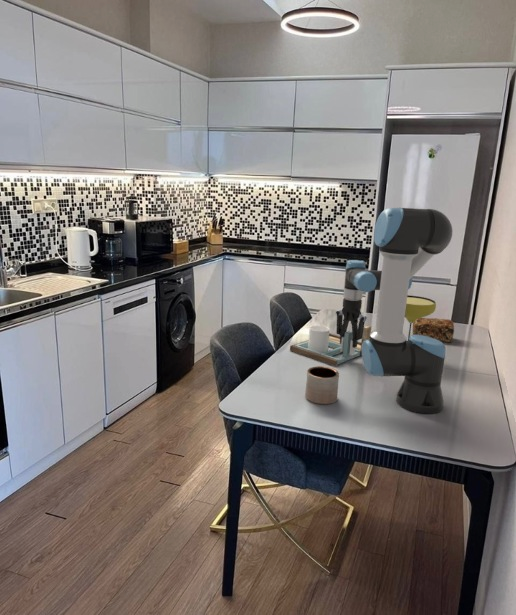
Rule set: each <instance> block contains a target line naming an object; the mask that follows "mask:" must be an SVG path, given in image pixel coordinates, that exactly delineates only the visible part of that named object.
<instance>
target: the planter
mask: <svg viewBox="0 0 516 615" xmlns="http://www.w3.org/2000/svg"><path fill="white" fill-rule="evenodd" d="M339 378H340V372H339V371H338V370H336V369H335V368H332V367H329V366H322V365H321V366H320V365H319V366H318V365H317V366H312V367H309V368H308V369H307V371H306V382H305V392H304V393H305V394H304V395H305V398H306V399H307V400H308V401H310V402H311V403H313V404H317V405H329V404H330V405H331V404H333V403H335V402H336V401H337V399H338V393H339V381H340V380H339Z"/></svg>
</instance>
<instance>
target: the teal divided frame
mask: <svg viewBox="0 0 516 615" xmlns="http://www.w3.org/2000/svg"><path fill="white" fill-rule="evenodd" d="M352 339H353V336H352V330H347V331H346V332H345V337H344V348H343V352H341V344H337V343H334V342H331V341H329V342H328V348H329V347H330V348H333V349H330V350H328V352H325V353H319V352H316V351H313V350H310V349H308V342H309V341H307V340H306V341H307V342H304V341H303V342H304V343H301V344H298V345H295V346H296V347H299V348H302V349H305V350H308V351H311V352H314V353H317V354H320V355H323V356H325V357H328V358H331V359H334V360H337V366H338V365H339V364H343V363H344V362H347V361H349V360H352V359H354V358H357V357H359V356H360V350H357V349H355V354H353V355H349V354H350V344H351V340H352ZM340 353H342V357H340V358H337V357H333V356H335V355H339V354H340Z"/></svg>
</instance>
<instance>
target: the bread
mask: <svg viewBox="0 0 516 615" xmlns="http://www.w3.org/2000/svg"><path fill="white" fill-rule="evenodd" d="M454 333H455V326H454V321H453V320H451V319H446V318H431V317H429V318H428V317H427V318H426V317H422V318H419V319H417V320H416V321H415V322H413V323H412V335H423V336H427V337H431V338H434V339H437V340H439V341H440V342H442V343H452V342H453V338H454Z"/></svg>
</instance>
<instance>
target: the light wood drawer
mask: <svg viewBox="0 0 516 615" xmlns="http://www.w3.org/2000/svg"><path fill="white" fill-rule="evenodd" d="M371 332H372V326H371V325H364V330H363V337H362V339H361V345H358V344H357V347H355V348H357V349H360V350H362V344H363V342H364V341H365V340H369V338H370V333H371ZM329 340H330V341H334V342H337V343H340V339H338V338H334V337H331V336H329Z"/></svg>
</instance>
